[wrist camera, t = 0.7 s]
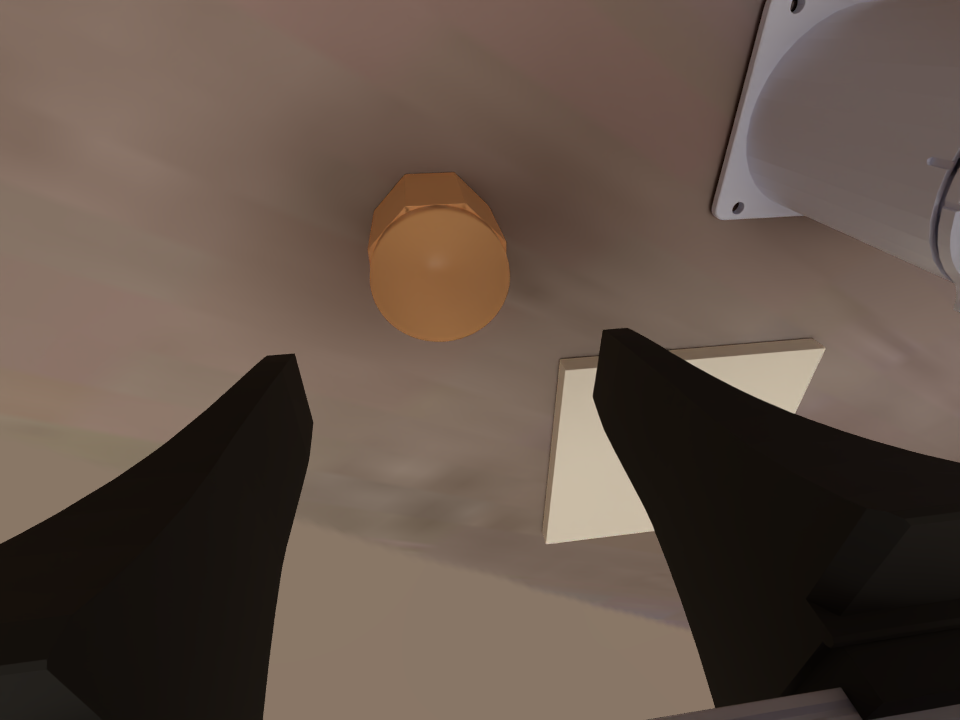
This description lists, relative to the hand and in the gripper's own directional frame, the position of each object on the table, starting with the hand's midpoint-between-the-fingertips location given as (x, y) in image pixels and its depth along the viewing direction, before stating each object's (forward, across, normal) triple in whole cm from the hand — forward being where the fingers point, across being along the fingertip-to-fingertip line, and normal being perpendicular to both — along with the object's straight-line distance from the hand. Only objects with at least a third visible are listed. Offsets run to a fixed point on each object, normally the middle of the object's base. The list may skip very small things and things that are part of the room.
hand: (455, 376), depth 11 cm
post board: (+10, -13, +14) cm, 22 cm away
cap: (+10, 0, 0) cm, 10 cm away
